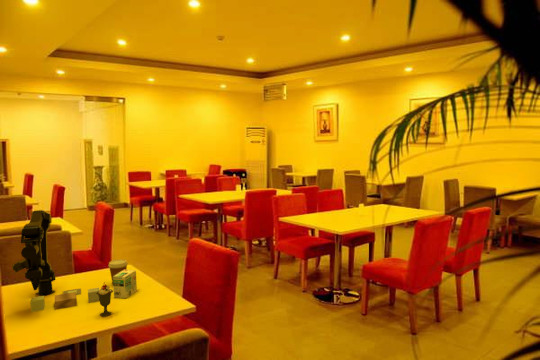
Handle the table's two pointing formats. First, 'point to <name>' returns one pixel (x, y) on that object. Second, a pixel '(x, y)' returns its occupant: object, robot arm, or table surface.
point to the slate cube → (93, 295)
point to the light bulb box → (124, 283)
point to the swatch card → (78, 291)
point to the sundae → (105, 298)
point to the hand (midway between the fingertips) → (36, 286)
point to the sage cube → (37, 303)
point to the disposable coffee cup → (117, 267)
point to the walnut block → (65, 300)
